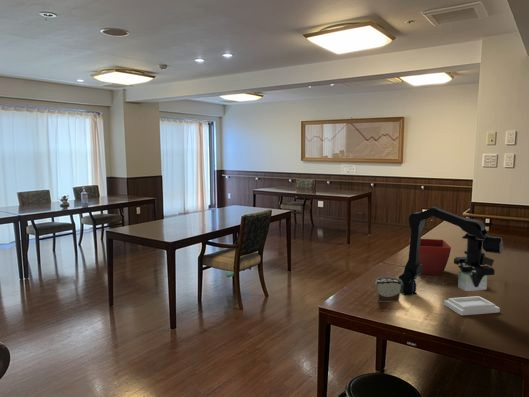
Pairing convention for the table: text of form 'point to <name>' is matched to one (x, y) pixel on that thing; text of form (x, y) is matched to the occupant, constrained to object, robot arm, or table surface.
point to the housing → (470, 281)
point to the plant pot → (433, 256)
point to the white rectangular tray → (471, 305)
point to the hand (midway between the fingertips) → (472, 284)
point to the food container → (388, 289)
